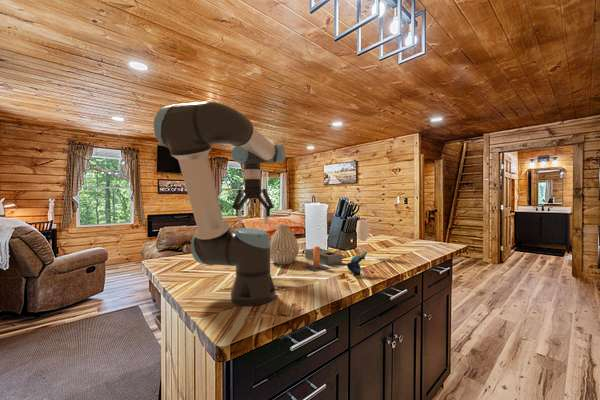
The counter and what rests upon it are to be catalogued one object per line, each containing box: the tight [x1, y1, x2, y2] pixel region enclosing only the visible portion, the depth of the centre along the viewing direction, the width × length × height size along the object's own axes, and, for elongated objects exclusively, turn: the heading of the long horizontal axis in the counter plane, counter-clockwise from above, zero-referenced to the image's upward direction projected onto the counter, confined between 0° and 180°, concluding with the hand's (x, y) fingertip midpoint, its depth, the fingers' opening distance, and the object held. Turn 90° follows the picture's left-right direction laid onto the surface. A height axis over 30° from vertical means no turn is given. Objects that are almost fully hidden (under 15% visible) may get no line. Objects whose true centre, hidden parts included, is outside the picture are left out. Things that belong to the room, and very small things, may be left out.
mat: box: [302, 264, 332, 273], centre depth 124 cm, size 10×10×1 cm
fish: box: [346, 251, 368, 276], centre depth 114 cm, size 4×10×10 cm, turn 112°
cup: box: [356, 219, 371, 242], centre depth 147 cm, size 7×7×21 cm
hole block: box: [305, 248, 343, 267], centre depth 137 cm, size 20×9×5 cm, turn 33°
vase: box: [270, 223, 300, 266], centre depth 134 cm, size 16×16×20 cm
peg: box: [312, 245, 321, 269], centre depth 124 cm, size 3×3×10 cm
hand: (252, 223), depth 123 cm, fingers open, 13 cm apart
